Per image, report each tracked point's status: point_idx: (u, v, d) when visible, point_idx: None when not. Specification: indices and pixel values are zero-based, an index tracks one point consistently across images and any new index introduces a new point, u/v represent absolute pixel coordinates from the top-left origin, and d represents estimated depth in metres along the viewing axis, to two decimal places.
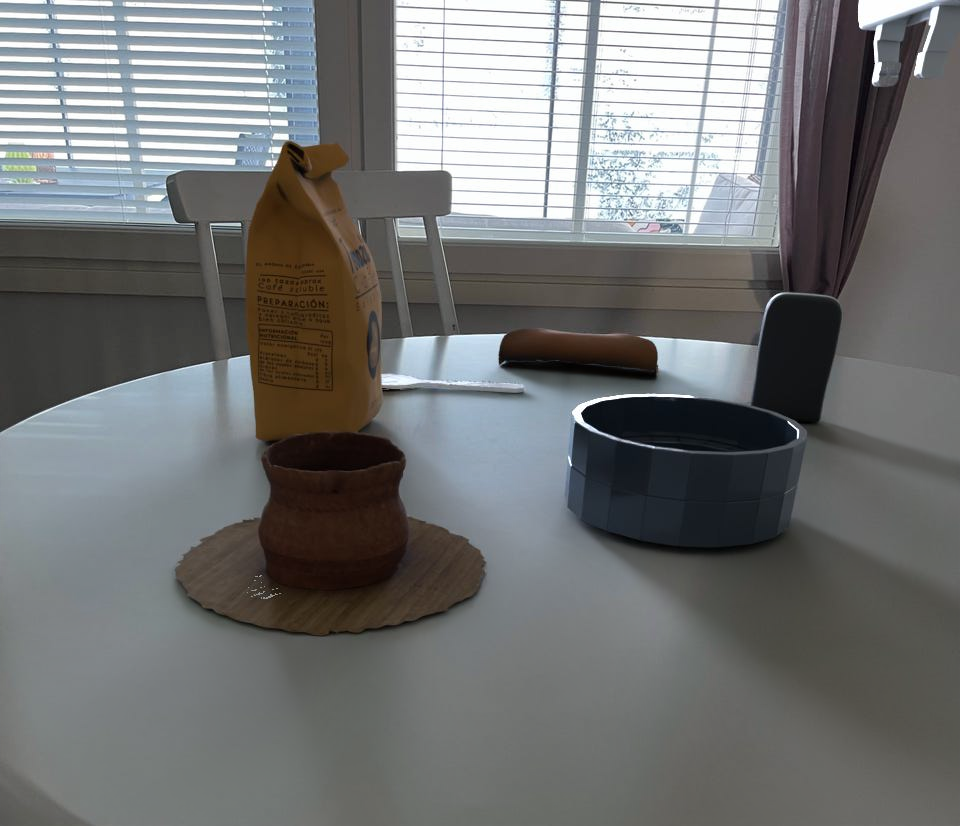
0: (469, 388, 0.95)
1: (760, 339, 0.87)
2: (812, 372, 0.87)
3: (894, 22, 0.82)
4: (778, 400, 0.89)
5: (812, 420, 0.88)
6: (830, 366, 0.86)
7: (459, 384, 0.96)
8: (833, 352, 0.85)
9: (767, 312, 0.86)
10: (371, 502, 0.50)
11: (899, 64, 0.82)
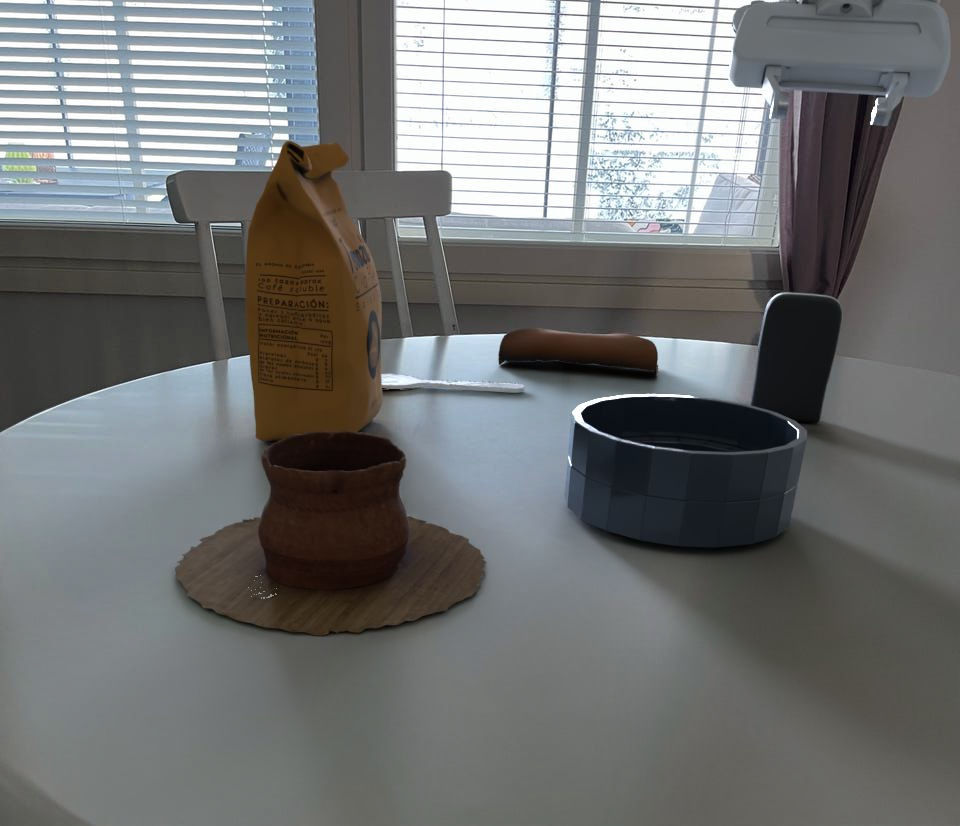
0: (469, 388, 0.95)
1: (760, 339, 0.87)
2: (812, 372, 0.87)
3: (889, 80, 0.90)
4: (778, 400, 0.89)
5: (812, 420, 0.88)
6: (830, 366, 0.86)
7: (459, 384, 0.96)
8: (833, 352, 0.85)
9: (767, 312, 0.86)
10: (371, 502, 0.50)
11: (877, 99, 0.88)
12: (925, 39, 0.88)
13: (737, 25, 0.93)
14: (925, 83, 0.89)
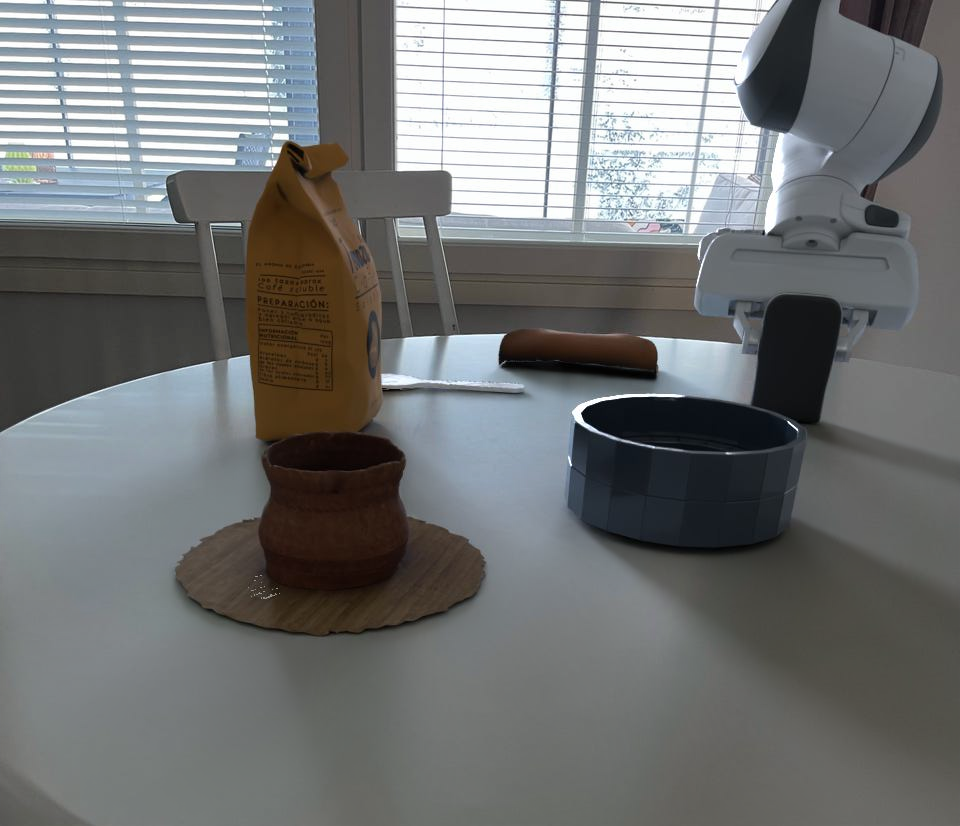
0: (469, 388, 0.95)
1: (760, 339, 0.87)
2: (812, 372, 0.87)
3: (850, 315, 0.88)
4: (778, 400, 0.89)
5: (812, 420, 0.88)
6: (830, 366, 0.86)
7: (459, 384, 0.96)
8: (833, 352, 0.85)
9: (767, 312, 0.86)
10: (371, 502, 0.50)
11: None
12: (893, 276, 0.87)
13: (703, 254, 0.92)
14: (894, 319, 0.87)
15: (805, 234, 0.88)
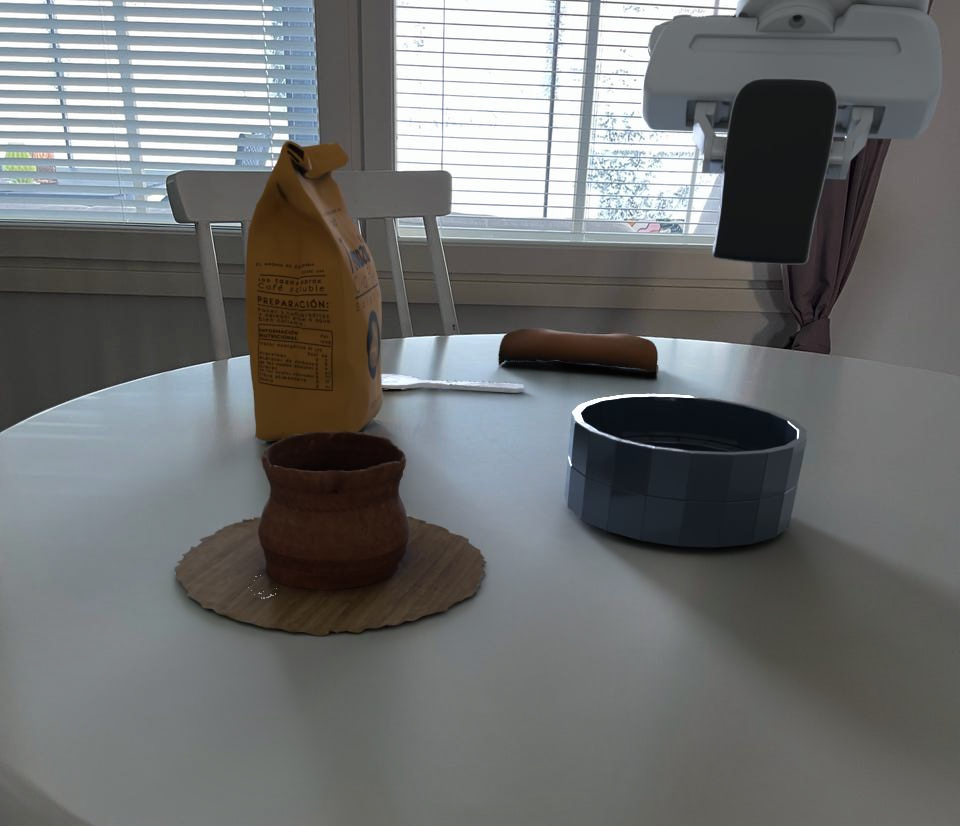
0: (469, 388, 0.95)
1: (726, 147, 0.64)
2: (796, 190, 0.64)
3: (849, 117, 0.65)
4: (751, 233, 0.66)
5: (797, 260, 0.66)
6: (821, 181, 0.63)
7: (459, 384, 0.96)
8: (825, 160, 0.63)
9: (735, 105, 0.63)
10: (371, 502, 0.50)
11: None
12: (906, 61, 0.64)
13: (653, 48, 0.69)
14: (907, 120, 0.64)
15: (788, 8, 0.65)
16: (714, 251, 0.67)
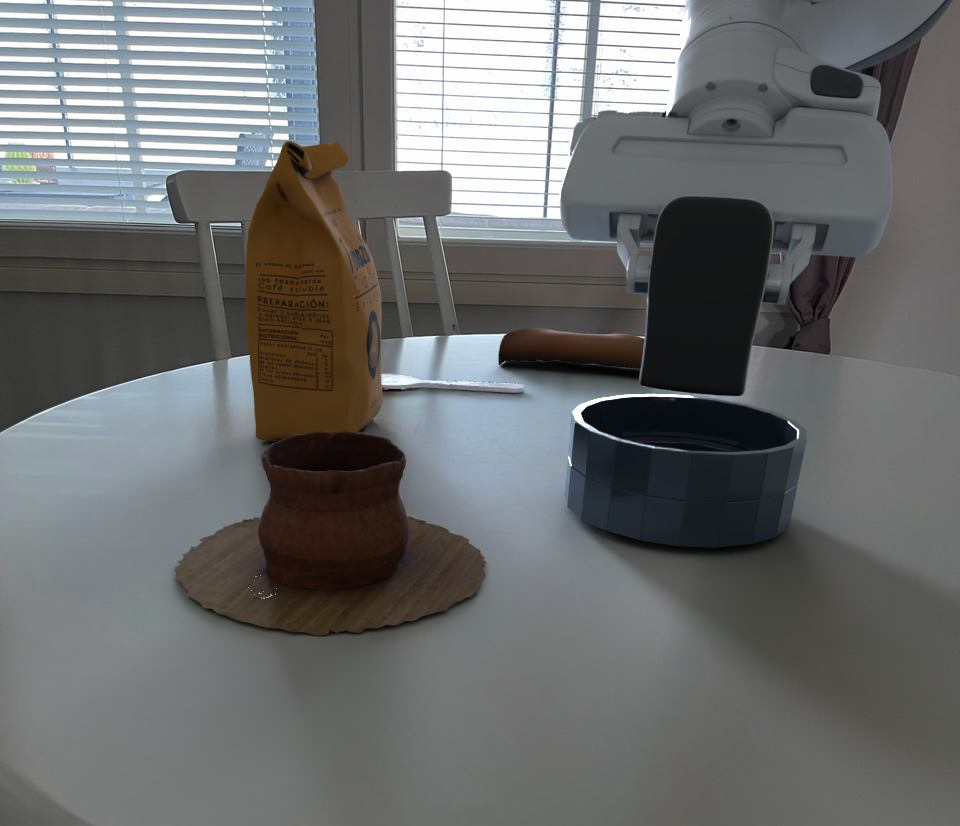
0: (469, 388, 0.95)
1: (651, 268, 0.57)
2: (729, 318, 0.57)
3: (790, 234, 0.58)
4: (680, 362, 0.59)
5: (732, 393, 0.59)
6: (756, 309, 0.56)
7: (459, 384, 0.96)
8: (760, 287, 0.55)
9: (659, 225, 0.56)
10: (371, 502, 0.50)
11: None
12: (853, 172, 0.57)
13: (575, 148, 0.62)
14: (854, 239, 0.57)
15: (721, 111, 0.58)
16: (640, 380, 0.60)
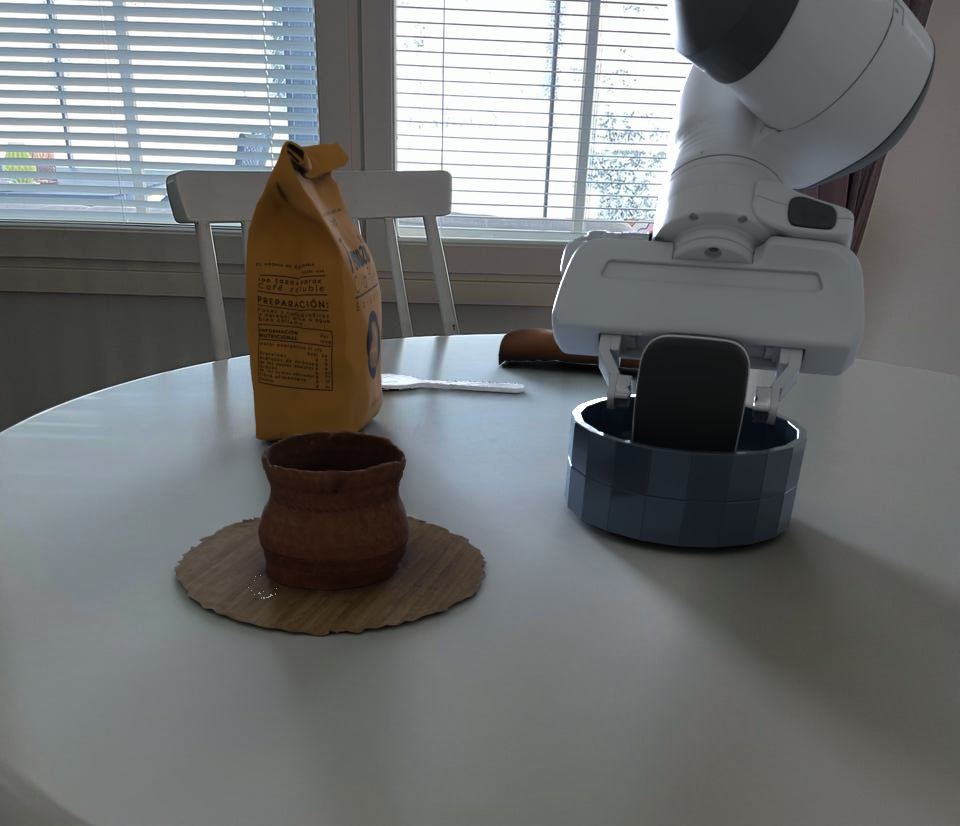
0: (469, 388, 0.95)
1: (635, 400, 0.61)
2: (709, 447, 0.60)
3: (778, 355, 0.61)
4: None
5: None
6: (734, 439, 0.60)
7: (459, 384, 0.96)
8: (737, 420, 0.59)
9: (642, 362, 0.59)
10: (371, 502, 0.50)
11: (756, 389, 0.60)
12: (828, 300, 0.60)
13: (566, 268, 0.66)
14: (830, 361, 0.61)
15: (703, 239, 0.61)
16: None
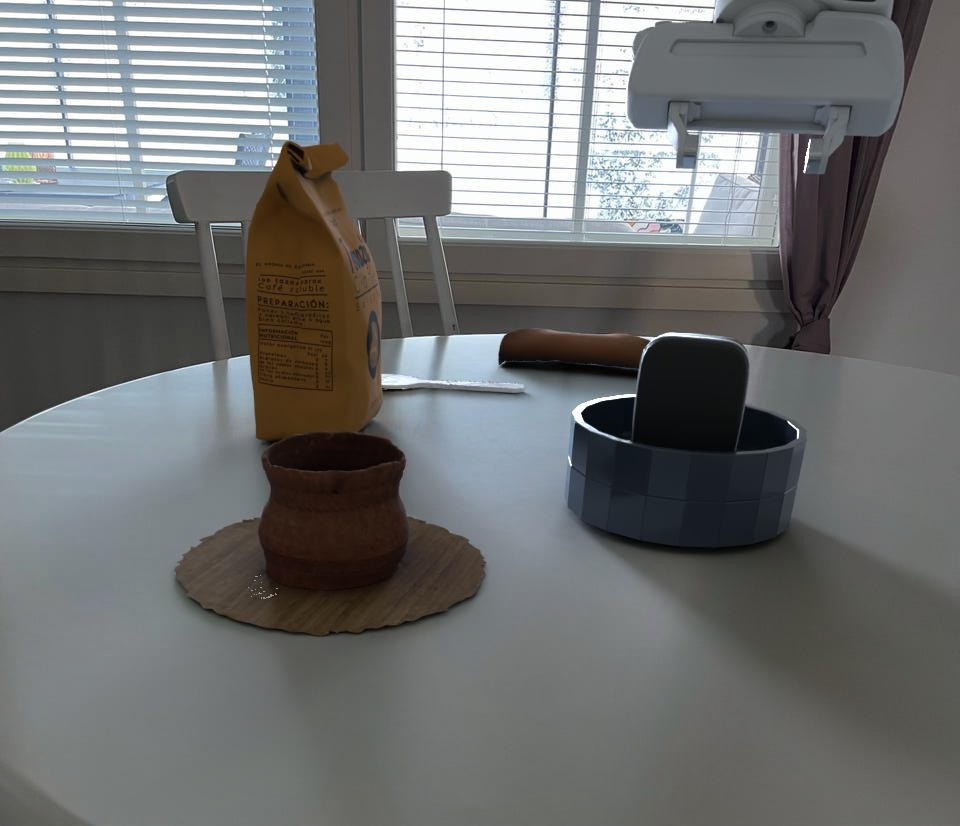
0: (469, 388, 0.95)
1: (635, 400, 0.61)
2: (709, 447, 0.60)
3: (827, 116, 0.70)
4: None
5: None
6: (734, 439, 0.60)
7: (459, 384, 0.96)
8: (737, 420, 0.59)
9: (642, 362, 0.59)
10: (371, 502, 0.50)
11: None
12: (871, 63, 0.69)
13: (637, 52, 0.74)
14: (873, 119, 0.69)
15: (761, 14, 0.70)
16: None
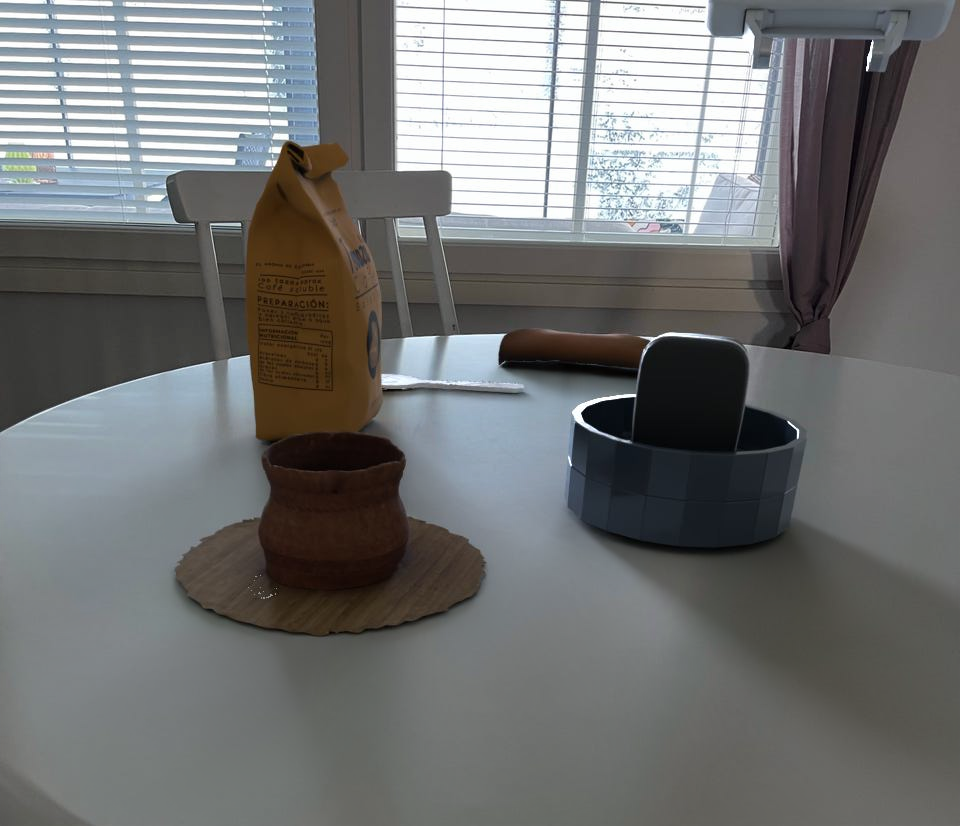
0: (469, 388, 0.95)
1: (635, 400, 0.61)
2: (709, 447, 0.60)
3: (887, 21, 0.79)
4: None
5: None
6: (734, 439, 0.60)
7: (459, 384, 0.96)
8: (737, 420, 0.59)
9: (642, 362, 0.59)
10: (371, 502, 0.50)
11: None
12: None
13: None
14: (928, 23, 0.78)
15: None
16: None
